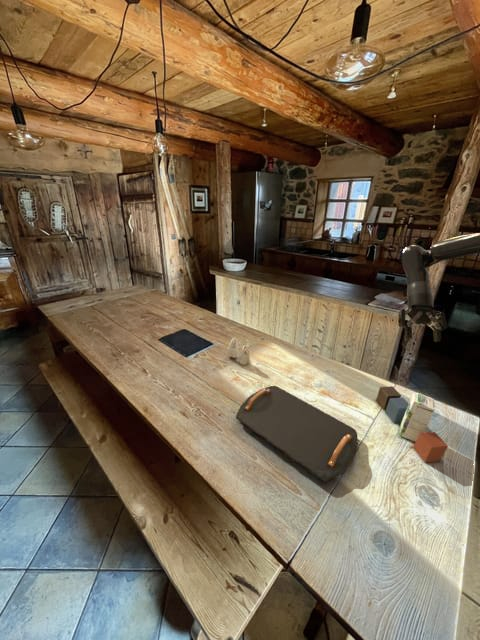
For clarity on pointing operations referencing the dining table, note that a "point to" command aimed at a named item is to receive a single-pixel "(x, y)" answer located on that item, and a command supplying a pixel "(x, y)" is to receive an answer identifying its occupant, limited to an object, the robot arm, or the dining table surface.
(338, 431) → the serving tray
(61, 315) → the dining table surface
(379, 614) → the dining table surface
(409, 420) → the syrup box
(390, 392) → the walnut block
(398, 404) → the slate blue block
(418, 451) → the terracotta block
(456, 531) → the dining table surface
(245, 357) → the shaker set
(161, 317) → the dining table surface
